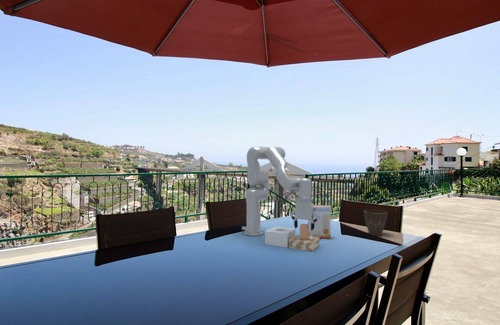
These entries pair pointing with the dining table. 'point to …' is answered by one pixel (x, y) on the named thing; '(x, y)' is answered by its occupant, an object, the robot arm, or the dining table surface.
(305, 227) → the plug
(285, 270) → the dining table surface
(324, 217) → the cracker box
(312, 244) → the lower socket
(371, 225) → the plant pot
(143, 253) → the dining table surface
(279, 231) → the upper socket
